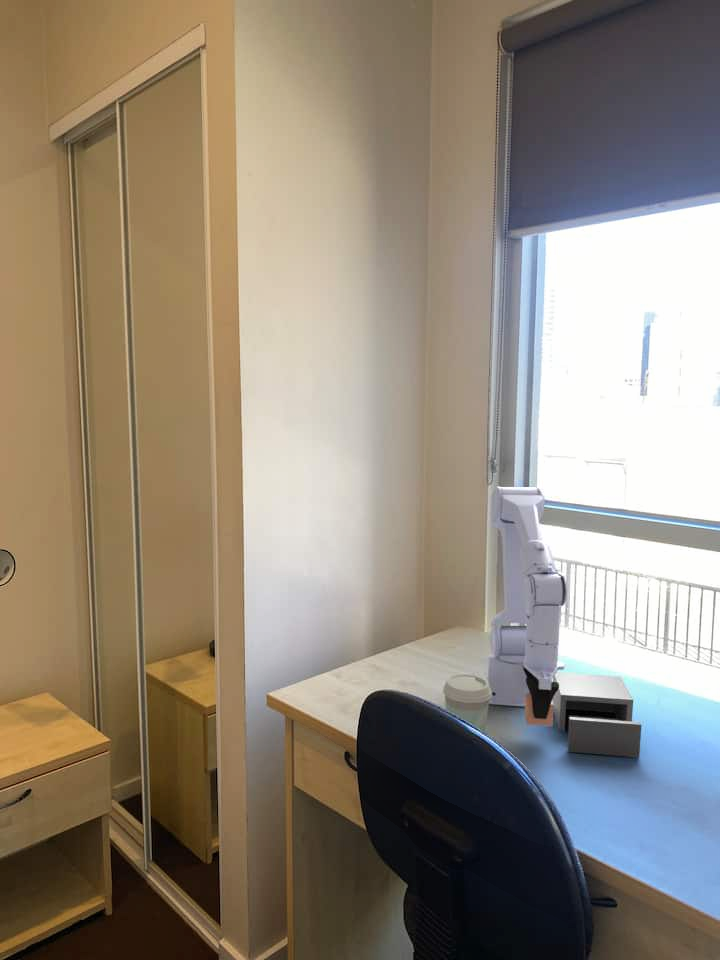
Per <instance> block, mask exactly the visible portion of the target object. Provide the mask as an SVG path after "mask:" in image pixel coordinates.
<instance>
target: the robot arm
mask: <svg viewBox="0 0 720 960" xmlns="http://www.w3.org/2000/svg"><path fill="white" fill-rule="evenodd" d="M545 500H546V499H545V493H544V491H543V489H542V488H541V487H540V486H536V487H527V486H526V487H524V486H523V487H521V486H520V487H517V486H516V487H511V486H508V487H507V486H505V487H504V486H502V487H501V486H498V485H497V486H495V488H494V489H493V490H492V495H491V521H492V527H494V528H495V529H498V530H499V531H500V534H501V541H502V543H501V546H502V571H503V574H502V575H503V598H504V599H503V605H504V607H503V609H502V610H501V611H500V612H499V613H497V614H496V615H495V616H493V617H492V620H491V622H490V623H491V624H490V626H491V627H490V628H491V629H490V634H489V643H490V649H491V653H492V654H493V655H487V661H486V662H487V665H486V666H487V667H486V680H487V681H488V683H489V687H490V689H491V693H492V696H491V698H490V699H489V705H496V706H497V705H498V706H510V707H523V708H525V695H526V692H527V693H530V694H531V699H532V708H533V714H534V718H538V719H546V718H547V715H548V712H549V708H550V705H551V701H552V699H553V697H554V695H555V693H556V692H557V691H558V689H559V683H558V682H553V677H554V675H555V674H556V672H558V671H563V670H565V664H564V662H563V661H558V660H559V645H560V644H559V642H560V627H561V626H560V624H561V607H564V605H565V604H566V601H567V591H568V589H567V583H566V578H565V575H564V574H563V573H562V572H561V571H560V569H557V568H556V565H555V561H554V558H553V555H552V554H553V553H552V550H551V547H550V545H549V544H547V542H545V541H543V540H542V534H541V528H540V520H541V518H542V517H543V516H542V515H543V513H544V511H545V504H546V503H545V502H546V501H545ZM560 606H561V607H560ZM504 624H526V625H504Z"/></svg>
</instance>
